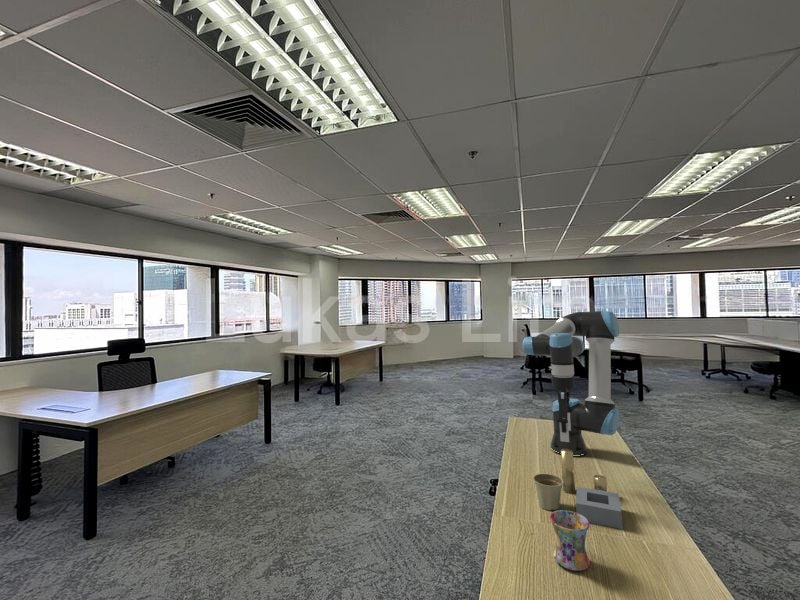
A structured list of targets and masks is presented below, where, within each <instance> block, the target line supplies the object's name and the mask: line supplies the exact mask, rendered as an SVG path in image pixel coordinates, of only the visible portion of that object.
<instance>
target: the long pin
mask: <svg viewBox="0 0 800 600" xmlns="http://www.w3.org/2000/svg"><path fill="white" fill-rule="evenodd" d="M560 459H561V460H560V462H561V463H560V464H561V479H562V480H563V485H562V491H563V492H564V493H567V494H575V493H576V481H575V479H576V477H575V464H574V462H575V459H574V457H573V451H572V450H569V449H562V450H561V455H560Z"/></svg>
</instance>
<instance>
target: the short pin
mask: <svg viewBox="0 0 800 600" xmlns="http://www.w3.org/2000/svg"><path fill="white" fill-rule="evenodd" d="M592 477H593V489H595V490H602V491H608V482H607V477H606V476H604V475H600V474H595V475H593V476H592Z"/></svg>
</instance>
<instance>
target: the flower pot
mask: <svg viewBox="0 0 800 600" xmlns="http://www.w3.org/2000/svg"><path fill="white" fill-rule="evenodd" d="M532 480H533V482H534V485H535V489H536V493H537V494H536V495H537V499H538V505H539V506H540V507H541V508H542V509H544V510H547V511H553V510H554V511H558V510H559V509H560V503H561V491H562V489H563V480H562V477H559V476H557V475H554V474H551V473H537V474H535V475H533V476H532Z"/></svg>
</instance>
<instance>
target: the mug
mask: <svg viewBox="0 0 800 600" xmlns="http://www.w3.org/2000/svg"><path fill="white" fill-rule="evenodd" d="M549 520H550V522H551V525H552V526H553V527H552V528H553V530H554V534H555V541H556V543H555V549H554V551H553V554H552V555H553V559H554V560H555V561H556V563H557V564H558V565H560V566H561V567H563V568H565V569H567V570H570V571H575V572H580V571H585V570H587V569H588V568H589V567H590V566H591V565H590V564H591V561H590V558H589V557H588V553H587V551H586V536H587V533H588V530H589V528H590V522H589V521H588V520H587V519H586V518H585V517H584V516H582V515H580V514H578V513H576V512H575V511H571V510H566V509H565V510H564V509H560V510H559V509H558V510H554V511H552V512H551V513H550V515H549Z"/></svg>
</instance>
